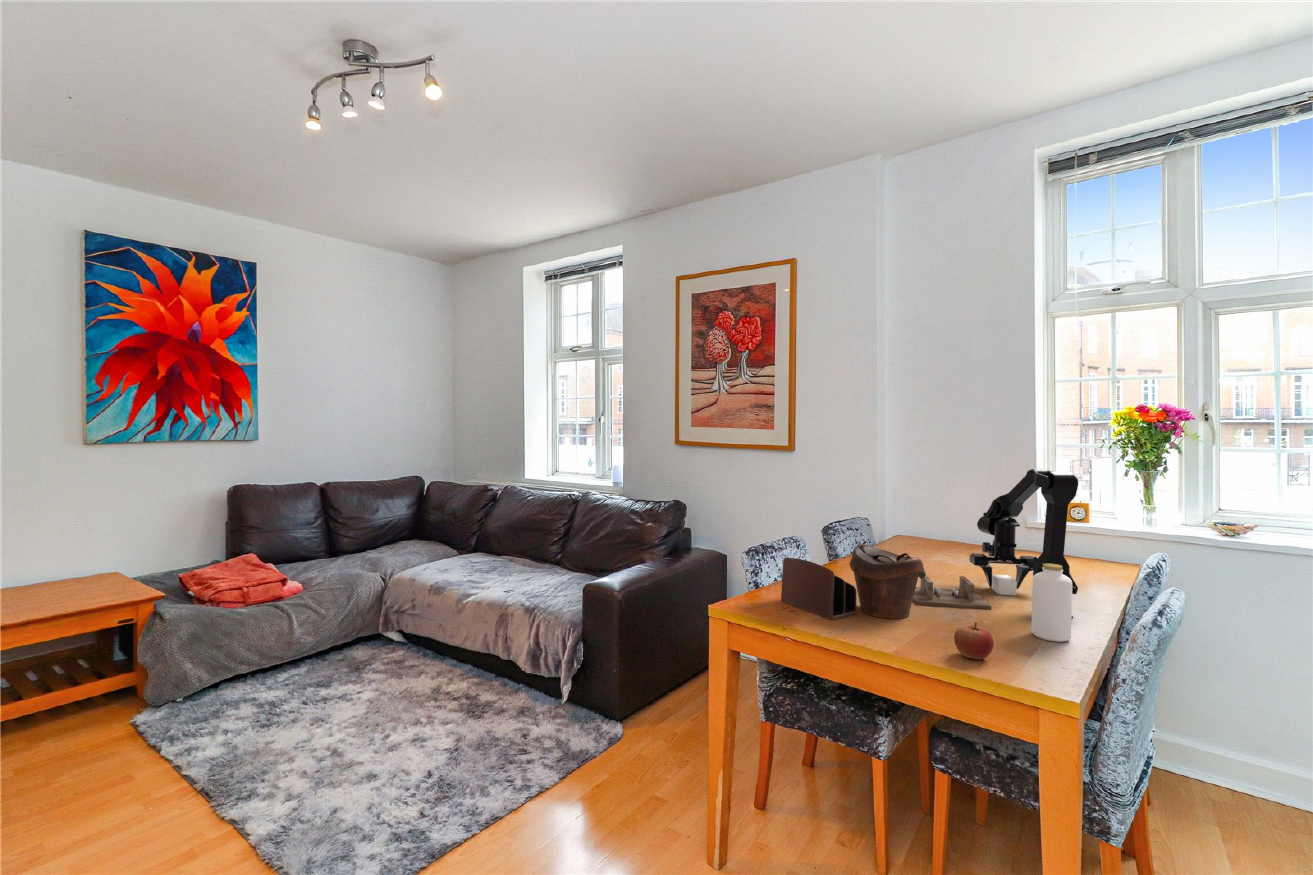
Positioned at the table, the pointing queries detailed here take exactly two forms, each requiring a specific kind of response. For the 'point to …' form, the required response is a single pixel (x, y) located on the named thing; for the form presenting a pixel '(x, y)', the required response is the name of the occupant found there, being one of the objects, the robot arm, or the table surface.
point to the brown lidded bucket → (885, 581)
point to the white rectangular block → (1004, 584)
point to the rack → (949, 595)
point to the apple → (973, 641)
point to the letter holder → (817, 589)
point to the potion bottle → (1052, 604)
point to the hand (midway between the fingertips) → (1003, 588)
